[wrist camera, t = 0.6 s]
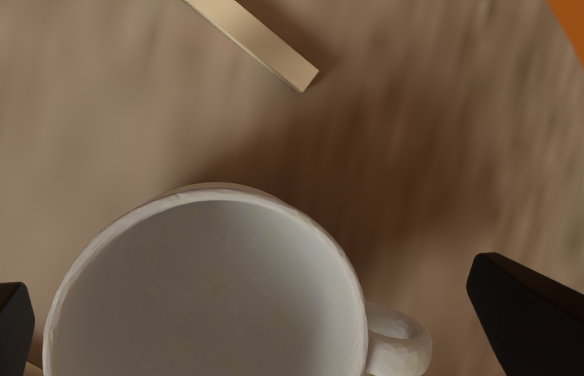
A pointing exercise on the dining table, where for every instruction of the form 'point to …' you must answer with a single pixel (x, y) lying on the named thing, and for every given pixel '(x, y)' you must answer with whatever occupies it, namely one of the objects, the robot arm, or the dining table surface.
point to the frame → (257, 42)
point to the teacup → (222, 297)
